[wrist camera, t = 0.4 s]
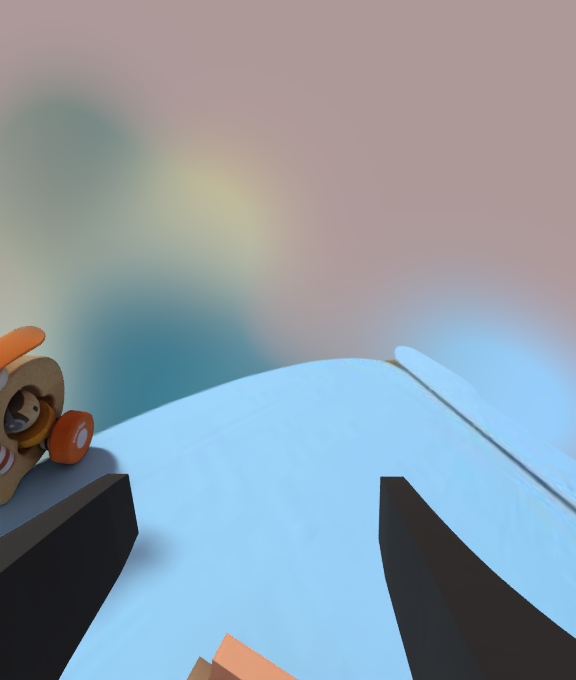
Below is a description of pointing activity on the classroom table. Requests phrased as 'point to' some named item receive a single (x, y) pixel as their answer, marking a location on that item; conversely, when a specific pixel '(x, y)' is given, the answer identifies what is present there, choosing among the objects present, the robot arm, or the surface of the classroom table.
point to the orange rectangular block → (243, 663)
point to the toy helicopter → (34, 411)
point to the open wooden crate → (200, 670)
